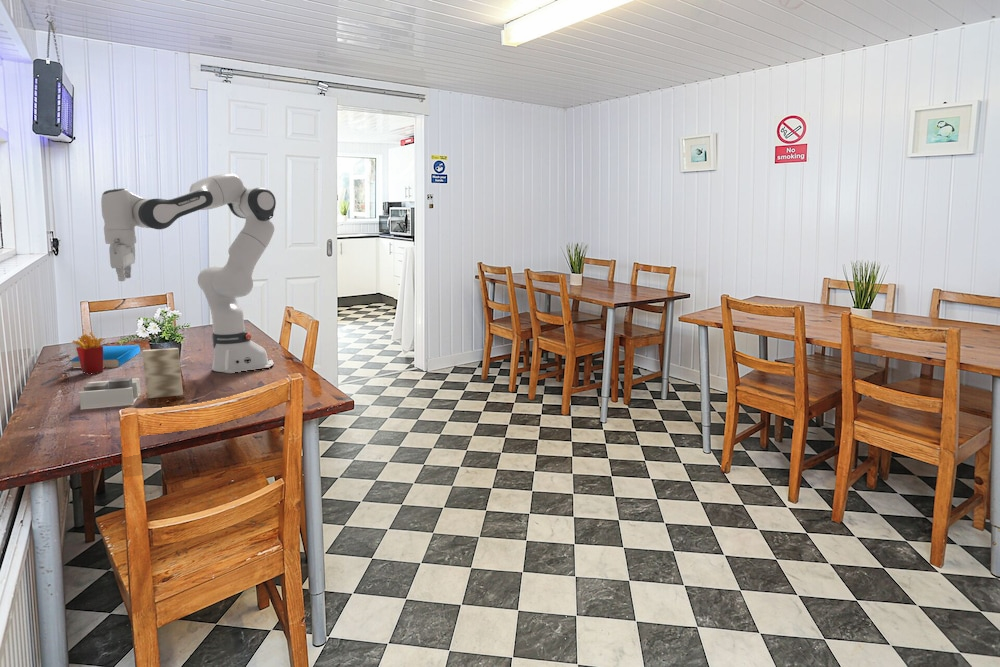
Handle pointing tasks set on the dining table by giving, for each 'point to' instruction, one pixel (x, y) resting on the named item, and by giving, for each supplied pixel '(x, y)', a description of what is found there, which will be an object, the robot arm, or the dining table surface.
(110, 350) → the book
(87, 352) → the french fries
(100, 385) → the offcut short
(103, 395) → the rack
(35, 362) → the dining table surface
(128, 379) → the offcut tall
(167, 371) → the birch board
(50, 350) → the dining table surface
